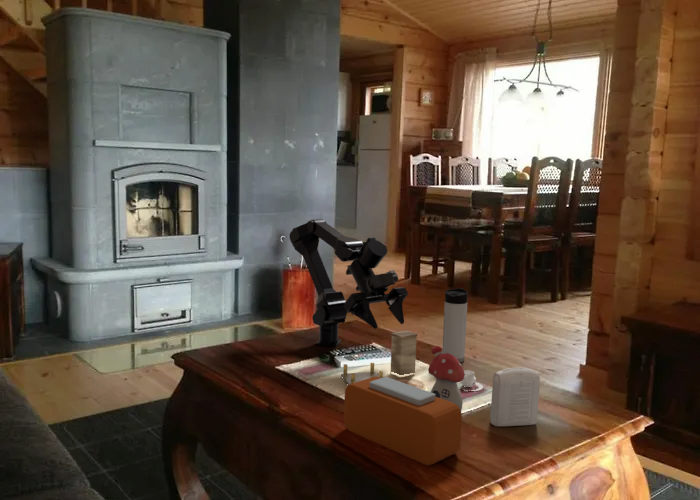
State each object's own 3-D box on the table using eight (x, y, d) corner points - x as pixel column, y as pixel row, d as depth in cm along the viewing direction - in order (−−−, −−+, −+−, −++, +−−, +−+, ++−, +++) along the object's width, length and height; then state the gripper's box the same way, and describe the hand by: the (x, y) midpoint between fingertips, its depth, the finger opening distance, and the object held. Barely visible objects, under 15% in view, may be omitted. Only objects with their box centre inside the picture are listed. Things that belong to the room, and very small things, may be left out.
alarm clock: (460, 456, 127) (463, 399, 126) (433, 469, 122) (435, 410, 120) (370, 418, 144) (372, 368, 143) (343, 429, 139) (344, 376, 137)
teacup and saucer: (465, 379, 172) (465, 364, 172) (491, 387, 167) (492, 371, 166) (444, 387, 166) (445, 371, 166) (470, 395, 161) (471, 379, 160)
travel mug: (468, 358, 189) (471, 289, 186) (459, 364, 184) (462, 293, 181) (448, 354, 192) (451, 286, 190) (438, 360, 187) (441, 290, 184)
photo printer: (530, 417, 147) (533, 363, 145) (539, 425, 143) (543, 370, 141) (487, 421, 144) (490, 366, 143) (495, 428, 140) (499, 372, 139)
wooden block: (389, 373, 174) (391, 333, 173) (404, 370, 177) (406, 330, 176) (400, 378, 171) (401, 336, 169) (415, 374, 174) (417, 333, 172)
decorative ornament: (421, 408, 150) (424, 344, 148) (447, 405, 153) (450, 342, 151) (441, 424, 142) (444, 356, 140) (468, 421, 144) (471, 354, 142)
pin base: (340, 376, 171) (341, 364, 170) (374, 374, 173) (374, 361, 173) (350, 388, 162) (350, 375, 162) (385, 386, 165) (385, 373, 164)
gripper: (351, 263, 173) (376, 313, 166) (405, 258, 184) (431, 304, 177) (333, 288, 181) (356, 336, 173) (386, 281, 192) (410, 327, 184)
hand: (389, 325), depth 177 cm, fingers open, 9 cm apart
